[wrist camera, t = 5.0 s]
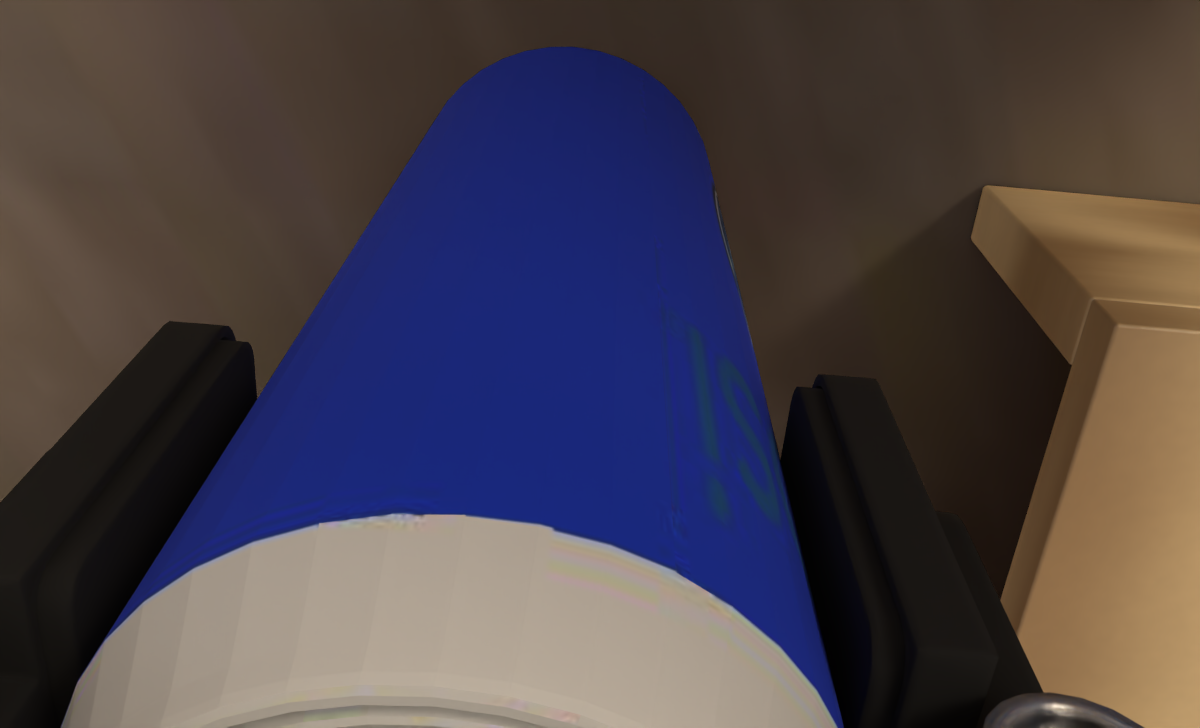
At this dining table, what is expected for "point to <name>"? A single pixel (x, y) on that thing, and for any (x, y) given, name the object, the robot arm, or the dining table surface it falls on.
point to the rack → (1110, 447)
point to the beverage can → (499, 459)
